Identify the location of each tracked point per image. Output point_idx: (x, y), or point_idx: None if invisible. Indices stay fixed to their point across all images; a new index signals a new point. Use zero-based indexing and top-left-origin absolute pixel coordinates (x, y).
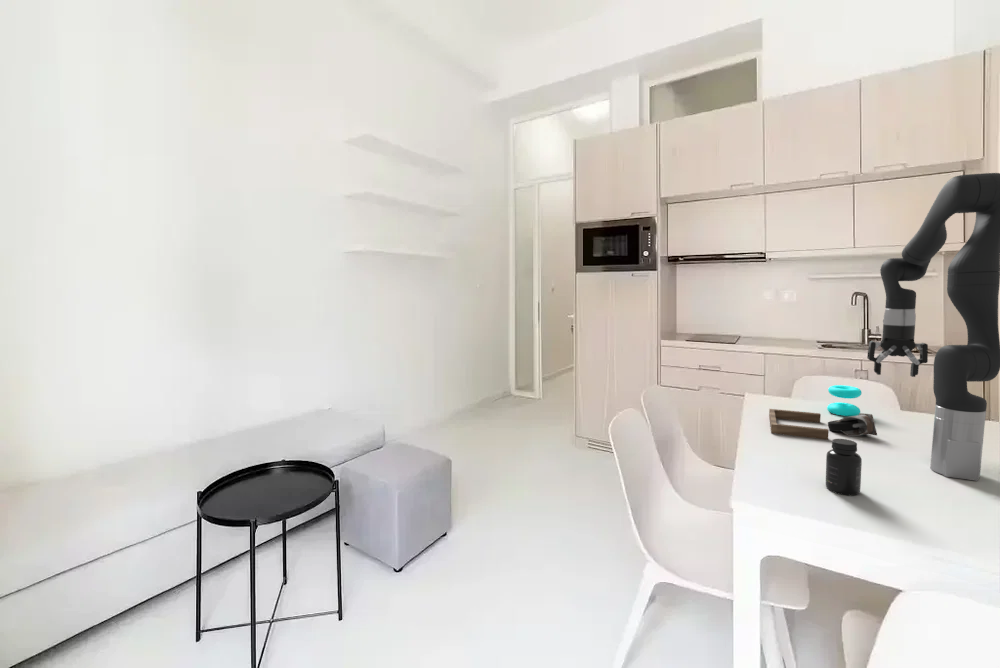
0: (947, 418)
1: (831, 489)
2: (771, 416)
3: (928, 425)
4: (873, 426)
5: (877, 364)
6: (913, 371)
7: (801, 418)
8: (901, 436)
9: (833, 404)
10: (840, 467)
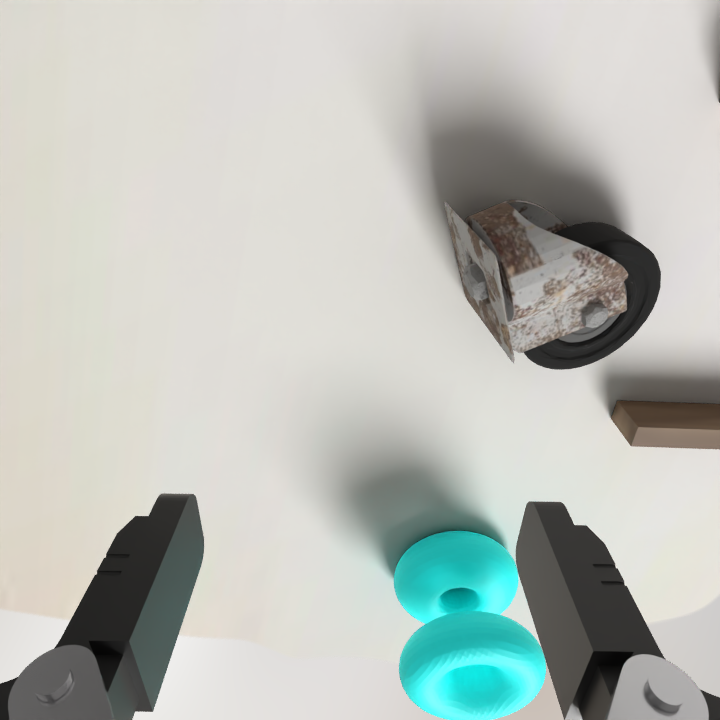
0: None
1: None
2: None
3: None
4: (466, 234)
5: (625, 641)
6: (161, 544)
7: (706, 411)
8: (308, 301)
9: (503, 594)
10: None
